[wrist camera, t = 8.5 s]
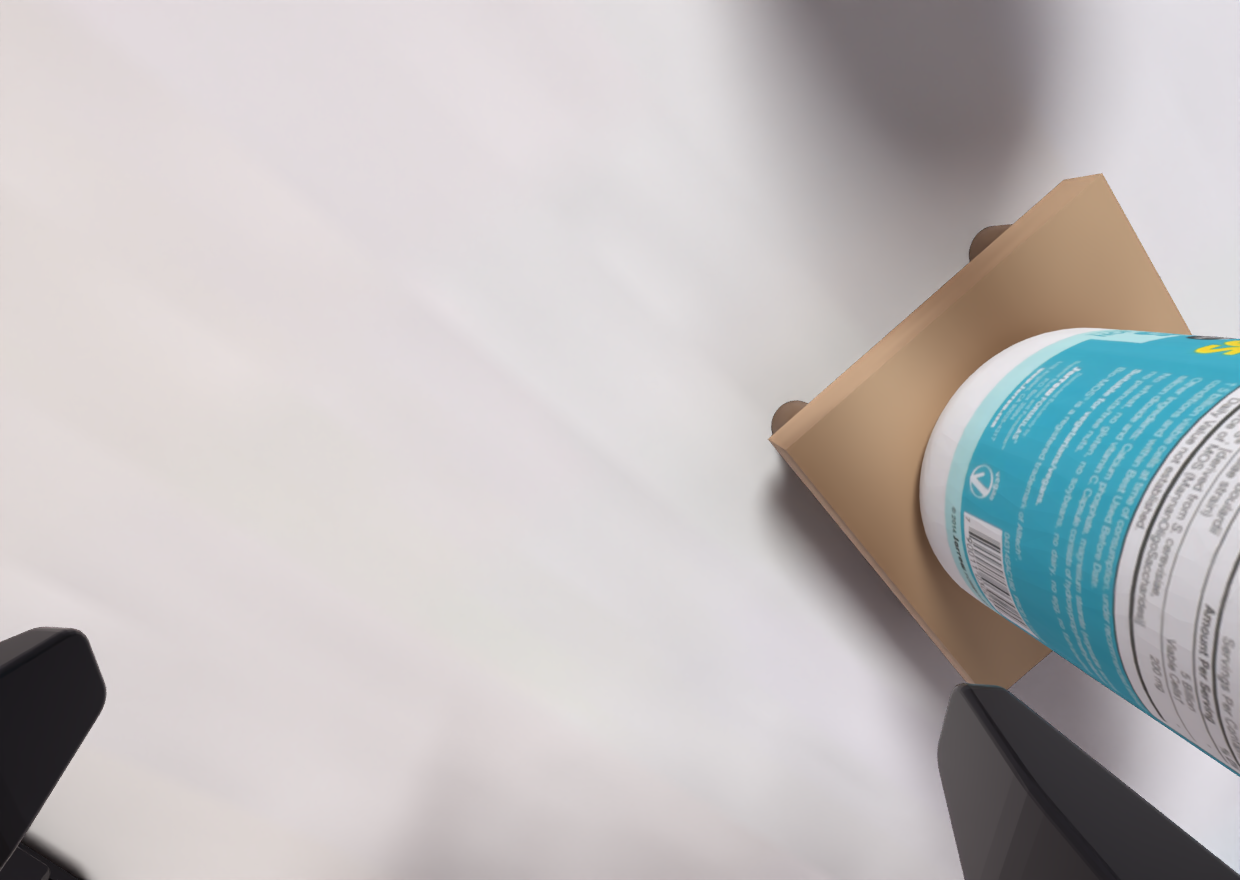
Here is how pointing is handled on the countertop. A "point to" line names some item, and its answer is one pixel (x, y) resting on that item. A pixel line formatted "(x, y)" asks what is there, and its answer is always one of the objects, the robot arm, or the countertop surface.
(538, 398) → the countertop surface
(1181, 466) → the pill bottle
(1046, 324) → the square wooden stand
